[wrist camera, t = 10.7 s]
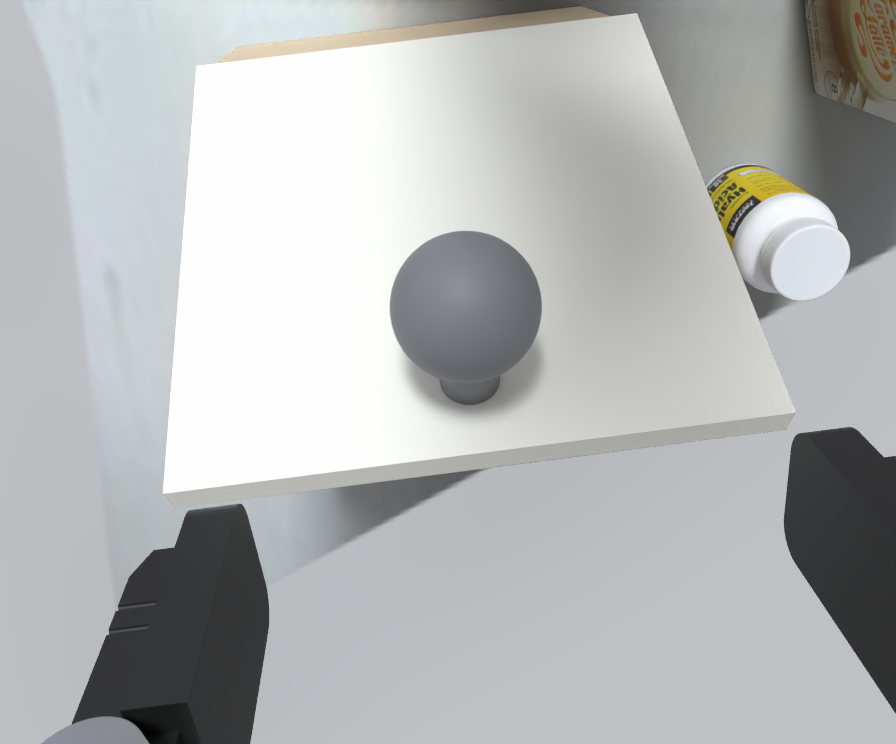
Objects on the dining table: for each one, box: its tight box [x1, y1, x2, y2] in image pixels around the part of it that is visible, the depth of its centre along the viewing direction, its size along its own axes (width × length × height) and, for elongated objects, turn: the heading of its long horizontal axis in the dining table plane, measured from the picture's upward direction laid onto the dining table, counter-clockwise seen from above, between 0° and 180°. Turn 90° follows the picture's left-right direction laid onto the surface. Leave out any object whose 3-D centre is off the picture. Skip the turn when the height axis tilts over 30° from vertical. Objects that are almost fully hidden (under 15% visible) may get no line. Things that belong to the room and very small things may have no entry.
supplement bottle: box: [706, 164, 850, 301], centre depth 45 cm, size 5×5×10 cm
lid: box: [163, 13, 796, 508], centre depth 27 cm, size 19×18×6 cm
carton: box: [218, 6, 610, 63], centre depth 44 cm, size 19×18×10 cm
